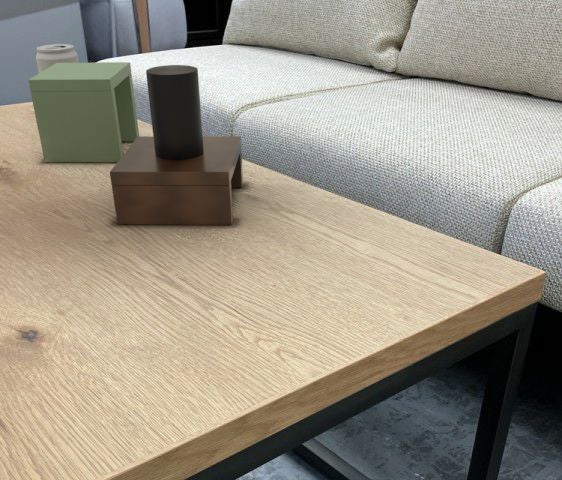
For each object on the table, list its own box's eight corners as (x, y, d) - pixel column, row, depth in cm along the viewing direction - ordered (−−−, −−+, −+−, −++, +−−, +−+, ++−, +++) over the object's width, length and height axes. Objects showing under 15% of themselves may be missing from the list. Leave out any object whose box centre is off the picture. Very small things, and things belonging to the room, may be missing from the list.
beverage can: (96, 122, 117) (84, 44, 110) (72, 132, 112) (57, 50, 105) (66, 119, 119) (52, 41, 112) (40, 128, 114) (24, 48, 108)
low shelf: (117, 224, 79) (109, 171, 76) (143, 183, 91) (137, 136, 87) (231, 225, 78) (228, 171, 75) (243, 183, 90) (241, 136, 87)
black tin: (150, 160, 79) (141, 75, 74) (160, 146, 84) (151, 64, 79) (200, 160, 79) (193, 74, 74) (206, 146, 83) (201, 64, 78)
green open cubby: (44, 162, 99) (27, 79, 93) (69, 138, 109) (56, 62, 103) (121, 162, 98) (109, 79, 92) (139, 138, 108) (130, 62, 102)
